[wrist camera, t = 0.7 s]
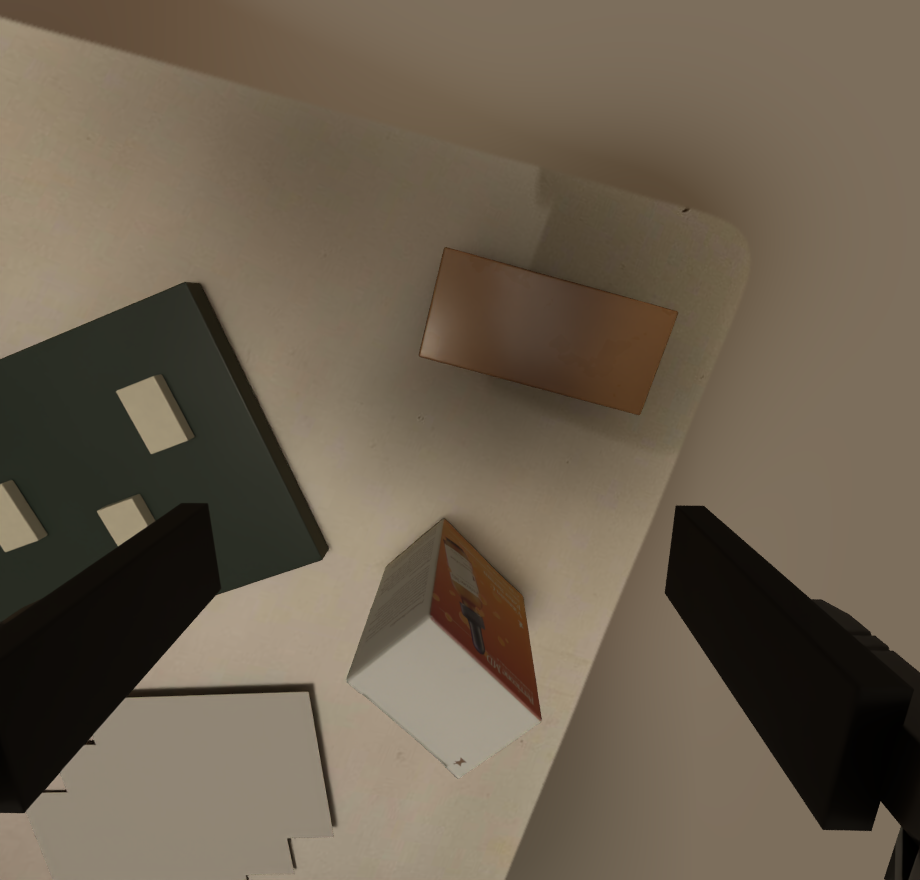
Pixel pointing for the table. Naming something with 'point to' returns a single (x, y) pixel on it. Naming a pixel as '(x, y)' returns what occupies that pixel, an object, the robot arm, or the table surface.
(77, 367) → the chalkboard
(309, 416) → the table surface
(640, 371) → the brown rectangular block
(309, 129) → the table surface
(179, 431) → the cream rectangular block
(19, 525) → the cream flat block
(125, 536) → the cream rectangular block
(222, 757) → the paper stack
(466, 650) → the small box
